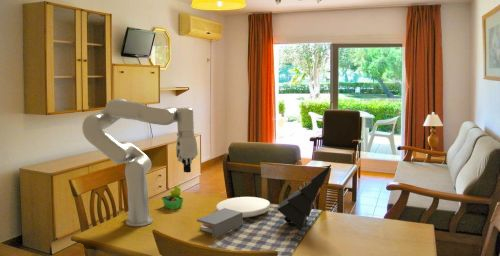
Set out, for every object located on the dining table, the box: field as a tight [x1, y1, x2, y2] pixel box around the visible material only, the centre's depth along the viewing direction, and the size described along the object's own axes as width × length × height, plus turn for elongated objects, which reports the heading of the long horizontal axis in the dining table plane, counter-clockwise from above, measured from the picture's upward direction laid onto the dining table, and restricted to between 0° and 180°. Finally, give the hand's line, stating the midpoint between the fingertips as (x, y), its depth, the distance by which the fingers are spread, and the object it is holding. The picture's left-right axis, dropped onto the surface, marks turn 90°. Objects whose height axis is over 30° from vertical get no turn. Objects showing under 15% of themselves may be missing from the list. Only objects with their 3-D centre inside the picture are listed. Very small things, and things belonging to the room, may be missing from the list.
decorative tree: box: [276, 164, 332, 229], centre depth 199 cm, size 15×15×35 cm
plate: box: [215, 196, 271, 218], centre depth 220 cm, size 28×6×27 cm
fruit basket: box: [161, 185, 184, 211], centre depth 230 cm, size 11×9×11 cm
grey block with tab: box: [196, 208, 243, 240], centre depth 197 cm, size 13×19×6 cm
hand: (187, 171), depth 203 cm, fingers closed
